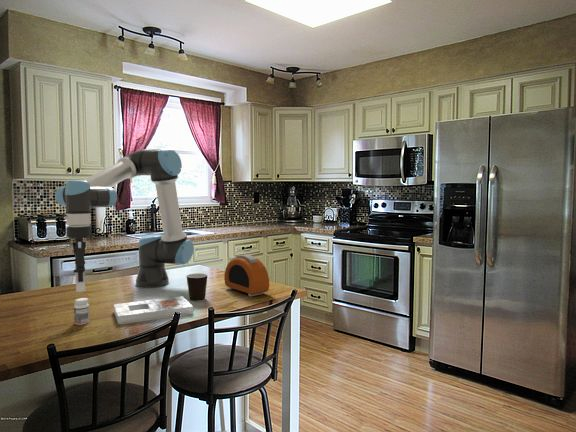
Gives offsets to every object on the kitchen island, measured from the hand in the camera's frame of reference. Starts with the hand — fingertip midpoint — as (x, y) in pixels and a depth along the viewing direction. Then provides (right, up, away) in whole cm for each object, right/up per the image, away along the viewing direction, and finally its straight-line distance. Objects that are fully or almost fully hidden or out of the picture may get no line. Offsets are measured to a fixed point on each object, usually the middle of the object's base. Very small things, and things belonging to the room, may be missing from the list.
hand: (80, 287), depth 146 cm
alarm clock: (+53, -10, +44) cm, 70 cm away
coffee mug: (+34, -11, +33) cm, 49 cm away
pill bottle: (0, -13, +1) cm, 13 cm away
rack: (+21, -12, +12) cm, 27 cm away
